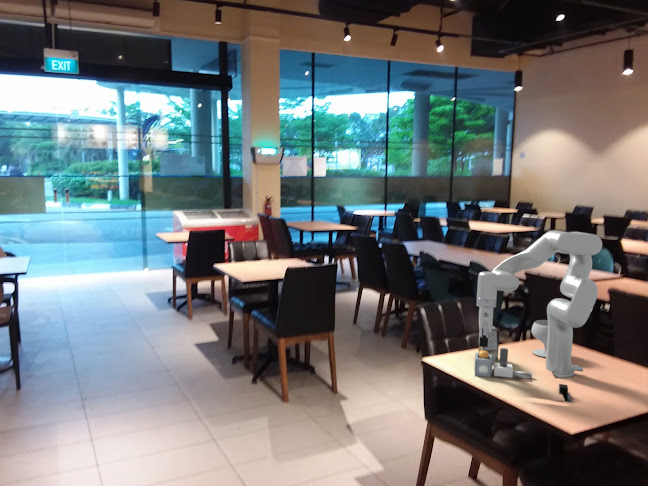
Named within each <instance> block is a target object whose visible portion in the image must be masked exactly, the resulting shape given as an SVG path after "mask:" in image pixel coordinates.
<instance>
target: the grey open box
mask: <svg viewBox="0 0 648 486" xmlns="http://www.w3.org/2000/svg"><path fill="white" fill-rule="evenodd" d="M492 361H493V360H492V354H488V359H485V358H479V352H474V377H477V376H483V377H482V378H487V377H492V370H493V363H492Z"/></svg>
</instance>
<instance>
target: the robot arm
mask: <svg viewBox="0 0 648 486" xmlns="http://www.w3.org/2000/svg"><path fill="white" fill-rule="evenodd" d="M602 248H603V241H602V239H601V238H600V237H599V236H598V235H597V234H595V233H594V234H593V233H587V232H580V231H570V232H568V231H561V230H554V229H553V230H549V231H546V233H544V234H542V236H541V237H540V238H537V240H536V241H535V242H533V243H532V244H531V245H530V246H528V247H527V248H526V249H525V250H523V251H521V252H519V253H516V254H514V255H512V256H511V257H508V258H507V259H505V260H503V261H502V262H501V263H499V264H498V265H496V267H494V269H493V270H491V271H481V272H479V273H478V276H477V289H476V291H477V292H476V305H475V306H477V307H479V309H478V328H479V329H480V331H481V334H480V341H479V340H478V347H479V346H480V347H488V329H489V331H490V332H492V325H493V324H494V323H493V319H494V308H497V293H498V291H501V292H513V291H515V290H517V289H518V288H519V286H520V279H519V277H518V276H516V274H517V273H519V272H522V271H527V270H531V269H536V268H539V267H540V266H542V265H543V264H544V263H546V262H547V261H548V260H549V259H550V258H551V257H553V256H554V255H555V254H556V253H560V254H563V255H564V254H566V255H569V264H568V266H567V268H566V271H565V273H564V276H563V278H562V281H561V283H560V286H559V290H560V292H561V294H562V295H563V296H566V297H568V298H570V299H571V300H568V299H565V298H561V297H560V298H557V297H556V298H554V299H551V301H550V302H548V304H547V307H546V315H547V320H548V338H547V353H546V358H545V369H546V370H547V371H549V372H551V374H552V376H553V377H554V378H560V379H561V378H563V379H566V378H572V377H574V376H575V372H580V373H581V372H583V371H584V367H583V366H579V365H577V364H572V353H573V352H572V349H573V337H574V335H573V334H574V331H573V328H575V329H578V328H582V327H583V326H584V325H585V324H586V322H587V320H588V319H589V317H590V315H591V313H592V310H593V308H594V306H595V304H596V301H597V298H598V295H599V289H598V285H597V284H596V282H595V281H594V280H592V279H590V278H589V277H590V274H591V272H592V269H593V258H592V256H595V255H597V254H599V252H600V251H601V250H602Z"/></svg>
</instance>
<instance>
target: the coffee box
mask: <svg viewBox="0 0 648 486" xmlns="http://www.w3.org/2000/svg"><path fill="white" fill-rule="evenodd" d="M478 334H479V335H478V342H479V341H480V334H481V331H480V329H479V331H478ZM499 346H500V330H499V329H498V327H497V326H495V325H493V324H492V332H490V331H489V329H488V347H480V346H479V345H478V352H479V351H481V350H483V351H488V352H489V353H488V354H492V360H493V361H492V364H494V363H499V362H498V361H499V350H500V349H499Z"/></svg>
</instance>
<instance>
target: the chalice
mask: <svg viewBox="0 0 648 486" xmlns="http://www.w3.org/2000/svg"><path fill="white" fill-rule="evenodd" d="M531 334H532V336H533V338H534V339H535V338H536V339H537V340H538V341H540V342H541V343H542V344H543V345H544V348H538V349H533V350H532V353H533V355H534V356H535V355H536V356H538V357H541V358H545V359H546V353H547V338H548V319H537V320H535V321H534V322H533V324H532V326H531Z"/></svg>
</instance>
